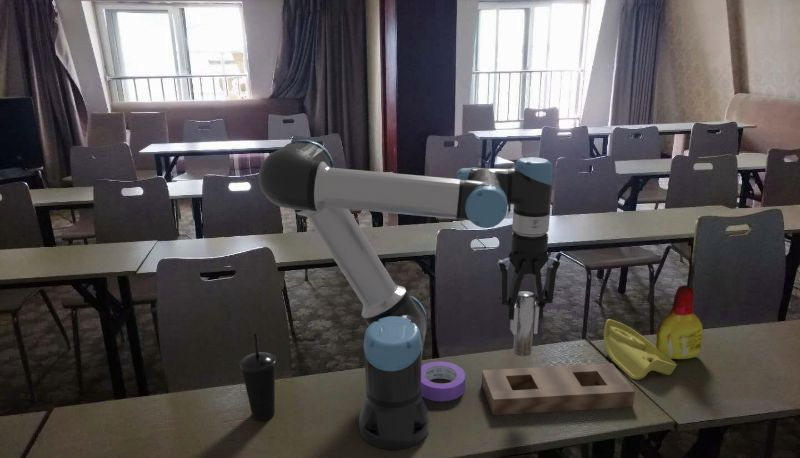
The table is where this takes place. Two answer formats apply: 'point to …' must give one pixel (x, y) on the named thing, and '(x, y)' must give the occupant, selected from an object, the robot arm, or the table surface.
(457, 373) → the masking tape
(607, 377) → the brown block with holes
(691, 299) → the bottle
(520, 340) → the steel pin
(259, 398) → the drinking cup
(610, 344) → the plastic component
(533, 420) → the table surface
